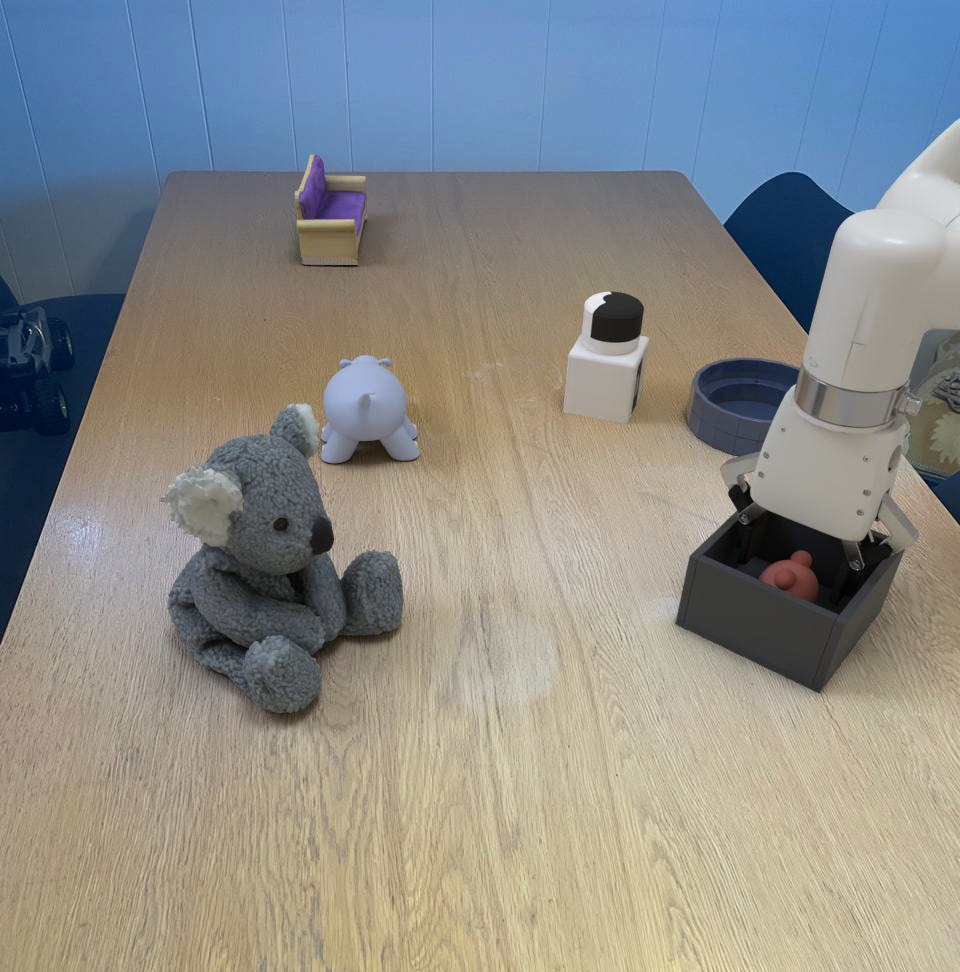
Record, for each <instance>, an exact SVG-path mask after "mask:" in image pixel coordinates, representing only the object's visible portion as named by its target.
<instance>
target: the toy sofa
mask: <svg viewBox="0 0 960 972" xmlns="http://www.w3.org/2000/svg"><path fill="white" fill-rule="evenodd" d="M299 185H300V186H299V188H298V190H295V192H294V204H295V211H296V230H297V234H298V241H299V249H300V258H301V257H325V258H338V259H339V258H340V259H351V260H352V259H355V260H357V259H358V260H359V253H358V252H359V246H360V242H361V238H362V233H363V229H364V225H365V224H364V223H365V221H366V220H365V216H366V213H367V214H368V196H367V195H368V192H367V176H366V175H326V174H325V164H324V161H323V159H322V157H321V156H320V155H319V154H310V155H309V159H308V163H307V167H306V169H305V172H304V175H303V178H302V180H301V184H299Z"/></svg>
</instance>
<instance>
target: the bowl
mask: <svg viewBox="0 0 960 972" xmlns="http://www.w3.org/2000/svg"><path fill="white" fill-rule="evenodd" d="M799 371H800V367H799V366H796V365H794V364H793V365H792V364H790V363H786V362H783V361H779V360H773V359H768V358H762V357H743V356H742V357H732V358H722V359H718V360H715V361H713V362H709V363H706V364H705V365H703V366H702V367H701V368H699V369H698V370H697V371H696V372H695V374H694V375H693V378H692V381H691V386H690V391H689V397H688V402H687V407H686V413H685V419H686V422H687V426H688V428H689V430H690V431H691V432H692V433H693V435H695V436H696V438H697V439H699V440H701V441H702V442H704V443H705V444H707V445H709V446H710V447H711V448H713V449H716V450H718V451H722V452H724V453H726V454H729V455H732V456H736V457H740V456H744V455H747V454H751V453H755V452H759V451H761V449H762V447H763V444H764V441H765V439H766V436H767V434H768V431H769V429H770V426H771V424H772V421H773V419H774V417H775V415H776V412H777V410H778V408H779V406H780V404H781V402H782V400H783V398H784V396H785V395H786V393H787V392H788V391H789V390H790V388H791V387H792V386H793V385H795V384H796V382H797V379H798V375H799Z"/></svg>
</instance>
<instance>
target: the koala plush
mask: <svg viewBox="0 0 960 972" xmlns="http://www.w3.org/2000/svg"><path fill="white" fill-rule="evenodd" d="M320 427H321V424H320V422H318V420H317V419H316V417H315V415H314V410H313V408H312V404H308V403H307V402H305V403H296V404H295V402H294V401H292V403H290V404H288V405H286V407H284V408H282V409H280V410H279V414H278V416H277V417H276V418H275V421H273V424H272V425H271V426H270V429H269V432H268V433H269V435H268V434H262V433H257V434H254V435H253V434H252V435H251V434H248V435H246V436H243V435H242V436H240V437H235V438H232V439H228V440H227V442H225V443H223V444H221V445H219V446H217V447H216V448H214V449H213V452H212V453H211V454H210V455H209V457H208V458H207V460H206V461H205V463H201V464H199V465H195V464H194V465H193V466H190V467H189V468H188V469H187V471H184V472H183V473H181V474H179V475H178V476H175V480H174V483H172V484H169V485H168V486H167V488H168V491H166V493H165V494H164V495H163V496H161V497H160V500H159V501H158V503H164V505H166V504H169V507H168V508H169V509H168V510H169V515H168V517H169V520H170V521H171V522H175V523H176V524H177V527H176V528H177V529H181V530H183V531H182V534H183V535H187V534H188V535H191V536H193V538H195V539H196V538H198V539H199V540H200V544H201V545H202V546H201V547H200V549H199V550H197V551H196V552H195V554H193V555H192V556H191V558H190V559H189V560H188V561H187V562H186V564H185V566H184V568H182V569H181V572H180V573H179V574H178V576H177V577H176V579H175V580H174V581H173V583H172V586H171V589H169V593H168V597H169V598H168V599H167V606H168V607H167V610H168V614H169V616H170V620H171V622H172V623H173V625H174V627H175V630H176V633H178V635H179V638H180V640H181V641H183V643H185V645H186V648H185V650H186V651H187V652H188V653H189V656H190V657H193V660H194V661H196V662H199V665H201V667H204V668H206V669H208V668H211V669H212V670H213V671H216V672H217V673H220V674H224V675H226V676H227V677H229V679H230V681H231V682H232V683H233V684H234V685H235V686H236V687H237V688H238V689H239V690H241V693H243V694H244V696H245V697H247V698H248V699H249V698H250V700H251V702H253V703H254V704H255V705H256V706H258V708H260V709H262V710H265V711H269V712H272V713H277V714H284V713H289V714H291V713H294V712H299V711H300V710H304V709H305V708H307V706H308V705H310V704H311V703H312V702H313V700H315V698H317V697H318V696H319V695H320V692H321V691H322V681H323V674H321V667H320V663H318V662H317V659H316V657H312V656H314V655H315V653H317V652H318V651H319V650H320V649H322V648H323V645H324V643H326V644H327V643H328V642H333V640H334V639H336V638H337V637H338V636H344V635H345V636H346V637H349V636H351V637H356V636H367V635H370V636H373V635H375V636H377V635H380V634H382V633H384V632H388V633H390V632H392V631H394V630H396V629H397V628H399V627H400V623H401V621H402V615H403V610H404V603H405V602H404V601H405V599H404V587H403V579H402V574H401V569H400V568H399V562H398V561H399V560H398V559H397V558H396V556H394V555H393V554H392V551H390V550H383V551H376V549H372V550H370V549H367V550H366V551H365V552H361V553H360V554H358V555H356V556H355V557H354V559H352V560H351V563H350V564H349V565H347V567H346V569H345V570H343V574H342V577H341V578H339V575H338V572H337V570H336V567H335V564H334V563H333V560H332V558H331V557H330V555H329V553H328V552H330V550H332V548H333V546H334V543H335V535H334V530H333V522H332V519H330V517H329V516H328V514H327V510H326V509H325V505H324V502H323V498H322V494H321V493H320V485H319V482H318V481H317V479H316V477H315V475H314V473H313V470H312V468H311V466H310V464H309V463H310V461H309V460H310V459H311V458H312V457H314V456H315V454H316V453H318V452H319V446H320V442H321V441H322V439H320V438H318V434H319V433H320Z"/></svg>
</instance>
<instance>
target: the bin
mask: <svg viewBox="0 0 960 972" xmlns="http://www.w3.org/2000/svg"><path fill="white" fill-rule="evenodd" d="M765 512H768V514H767V516H768V521H767V525H766V529H765V532H764V536H763V540H762V544H761V548H760V550H759V551H758V552H757V554H756V555H755V556H754V557H753V558H752V559H751V560H750V561H749V562H748V563H747V564H746V565H745V564H744V565H741V564H739V563H737V561H738V556H739V552H740V549H739V548H737V547H736V545H737V541H738V537H739V532H740V528H741V523H740V522H739V520H738V514H739V513H738V511H737V510H736V511H735V512H734V513H733V514H732V515H730V516H729V517H728V518H727V519H726V520H725V521H724V522H723V523H722V524H721V525H720V526H719V527H718V528H716V530H715V531H714V532H712V533H711V535H709V536H708V537H707V539H705V541H703V542H702V543H701V544H700V545H699V546H698V547H697V548H696V549H695V550H694V551H693V552H692V553H691V554H689V557H688V562H687V567H686V571H685V576H684V579H683V580H684V581H683V586H682V590H681V595H680V600H679V605H678V609H677V613H676V619H675V625H677V626H679V627H681V628H683V629H686V630H687V631H690V632H692V633H694V634H696V635H698V636H700V637H701V638H704V639H706V640H709V641H710V642H713V643H714V644H716V645H718V646H721V647H722V648H725V649H727V650H728V651H731V652H733V653H735V654H738V655H739V656H742V657H744V658H745V659H748V660H750V661H752V662H754V663H757V664H759V665H760V666H763V667H764V668H767V669H769V670H771V671H773V672H775V673H776V674H779V675H781V676H782V677H785V678H787V679H789V680H791V681H794V682H796V683H798V684H799V685H802V686H804V687H806V688H807V689H810V690H812V691H814V692H816V693H821V692H822V690H823V689H824V688H825V687H826V685H827V683H829V682H830V680H831V679H832V678H833V676H834V675H835V673H836V672H837V670H838V669H839V668H840V666H841V665H842V663H843V662H844V661H845V660H846V658H847V657H848V656H849V654H850V653H851V651H852V650H853V649H854V648H855V646H856V645H857V643H858V642H859V641H860V639H861V638H862V637H863V635H864V634H865V632H866V631H867V630H868V628H869V627H870V626H871V625H872V624H873V622H874V621H875V619H876V618H877V616H878V615H879V614H880V613H881V612H882V609H883V606H884V604H885V601H886V599H887V596H888V594H889V591H890V588H891V586H892V584H893V582H894V579H895V577H896V574H897V571H898V569H899V566H900V565H901V562H902V558H903V556H904V554H905V551H906V549H904V550H902V551H900V552H898V553H895V554H893V555H892V556H890V557H889V558H888V559H886V560H883V561H880V562H877V563H873V564H870V565H867V566H865V568H864V570H863V573H862V576H861V579H860V581H859V584H858V586H857V588H856V590H855V592H854V593H853V594H852V595H851V596H850V595H848V594H845V595H844V596H843V597H842V599H841V600H840V601H839V602H838V604H837V605H834V604H831V603H830V601H829V597H830V594H831V591H832V588H833V585H834V582H835V579H836V576H837V574H838V571H839V568H840V566H841V565H842V563H843V562H844V561H845V560H846V559H847V557H846V554H845V551H844V548H843V545H842V541H841V539H839V538H836V537H834V536H831V535H828V534H826V533H823V532H821V531H818V530H816V529H813V528H811V527H808V526H806V525H803V524H801V523H798V522H796V521H793V520H791V519H788V518H786V517H783V516H781V515H778V514H776V513H773V512H771V511H769V510H767V511H765ZM870 529H871V532H872V536H873V539H874V541H877V540H880V539H883V538H886V537H890V536H891V535H887V534H884V533H882V532H880V531H877V530H874V529H872V528H870ZM801 550H802V551H806V552H808V553H809V554H810V556H811V558H812V563H811V566H810V567H809V568H810V569H811V570H812V571H813V573H814V574H815V576H816V578H817V581H818V585H819V593H818V598H817V600H816V603H815V604H813V603H811V602H809V601H806V600H804V599H802V598H799V597H797V596H795V595H793V594H790V593H788V592H786V591H783V590H781V589H779V588H777V587H774V586H772V585H770V584H768V583H765V582H763V581H761V580H758V579H759V577H760V575H761V574H762V572H763V571H764V570H765V569H766V568H767V567H768V566H770V565H771V564H773V563H775V562H778V561H781V560H790V558H791V556H792V555H793V554H794V553H795V552H797V551H801Z"/></svg>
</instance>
